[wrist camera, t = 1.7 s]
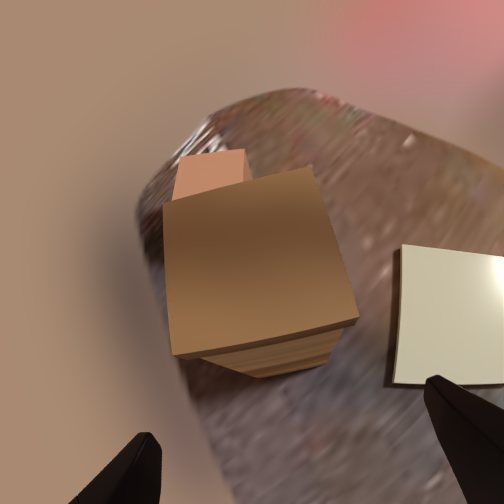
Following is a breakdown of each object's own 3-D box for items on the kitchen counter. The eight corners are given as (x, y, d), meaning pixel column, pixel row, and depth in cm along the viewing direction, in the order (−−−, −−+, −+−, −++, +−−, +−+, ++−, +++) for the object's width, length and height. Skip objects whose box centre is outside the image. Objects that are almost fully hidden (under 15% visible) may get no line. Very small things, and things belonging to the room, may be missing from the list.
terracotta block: (254, 240, 25) (241, 204, 20) (193, 244, 26) (169, 211, 21) (255, 188, 27) (244, 148, 23) (199, 193, 28) (180, 157, 23)
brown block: (327, 365, 20) (359, 316, 7) (256, 380, 20) (172, 355, 8) (312, 299, 22) (310, 166, 10) (245, 314, 22) (162, 203, 10)
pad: (507, 383, 16) (511, 382, 16) (391, 383, 18) (394, 382, 18) (504, 260, 20) (508, 257, 20) (400, 247, 22) (402, 244, 22)
